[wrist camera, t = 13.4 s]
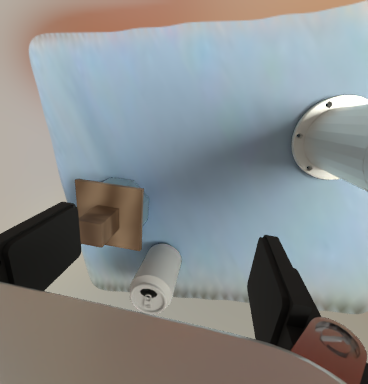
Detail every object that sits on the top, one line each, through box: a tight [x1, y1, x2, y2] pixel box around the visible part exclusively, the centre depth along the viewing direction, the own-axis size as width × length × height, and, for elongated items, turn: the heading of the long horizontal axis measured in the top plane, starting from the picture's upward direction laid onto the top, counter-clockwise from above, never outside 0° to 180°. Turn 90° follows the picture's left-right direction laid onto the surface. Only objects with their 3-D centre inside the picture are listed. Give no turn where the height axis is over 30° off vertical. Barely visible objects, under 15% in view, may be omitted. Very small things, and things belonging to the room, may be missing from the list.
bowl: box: [103, 177, 149, 227], centre depth 40 cm, size 11×11×5 cm
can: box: [130, 244, 182, 315], centre depth 40 cm, size 8×8×12 cm
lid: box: [75, 179, 144, 251], centre depth 35 cm, size 12×12×7 cm
